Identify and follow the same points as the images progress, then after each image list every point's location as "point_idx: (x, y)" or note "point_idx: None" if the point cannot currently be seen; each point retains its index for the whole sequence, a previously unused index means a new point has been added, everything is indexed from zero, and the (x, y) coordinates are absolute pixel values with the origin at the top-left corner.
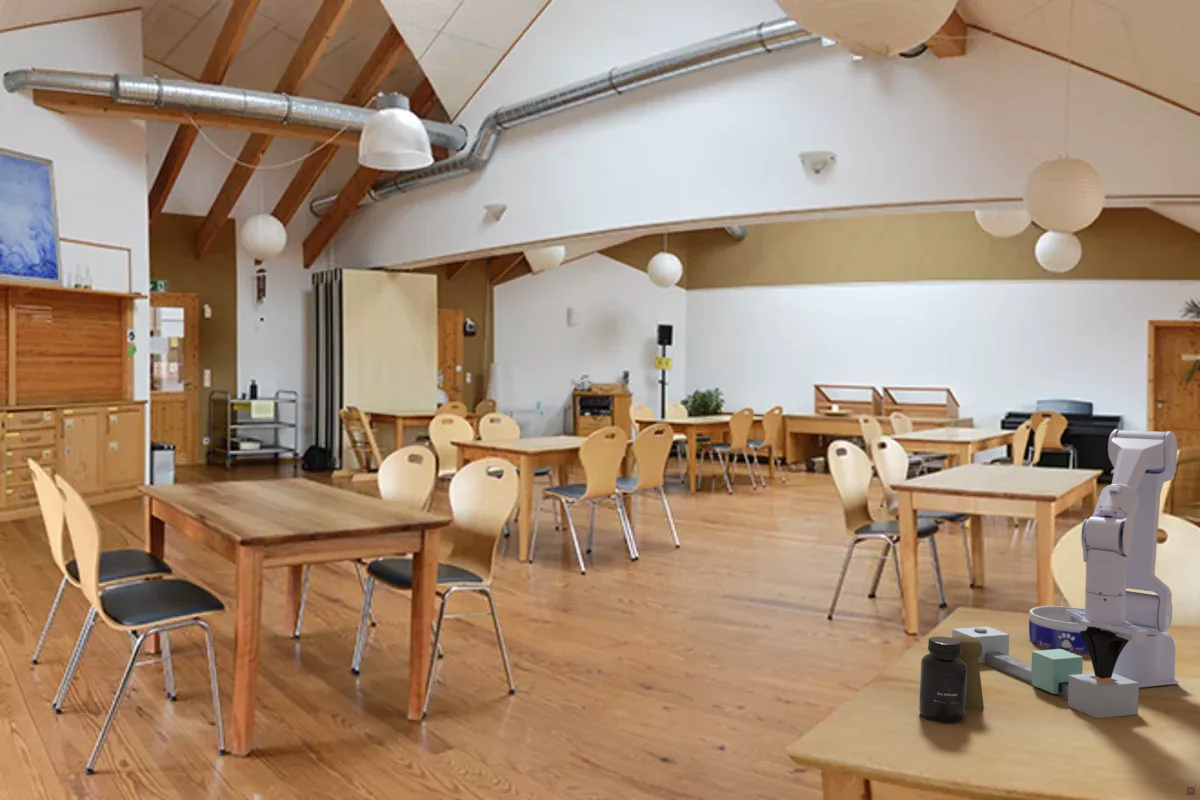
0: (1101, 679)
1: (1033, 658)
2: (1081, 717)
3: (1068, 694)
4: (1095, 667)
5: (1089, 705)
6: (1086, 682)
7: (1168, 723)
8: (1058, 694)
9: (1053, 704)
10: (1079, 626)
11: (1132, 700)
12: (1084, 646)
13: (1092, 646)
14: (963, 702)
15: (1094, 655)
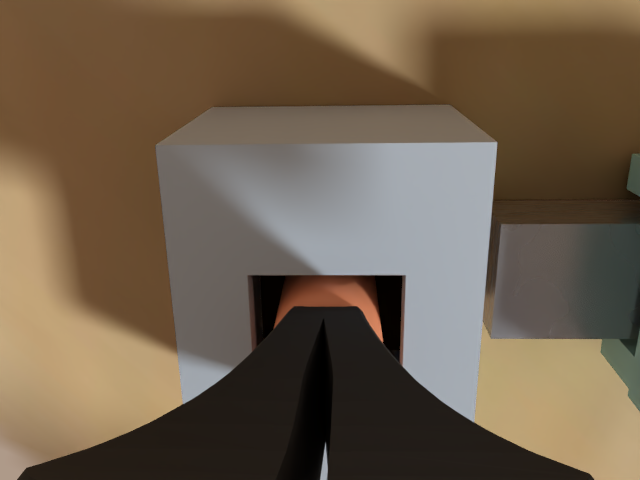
0: (293, 304)
1: None
2: (252, 26)
3: (460, 114)
4: (339, 329)
5: (264, 114)
6: (281, 142)
7: (90, 412)
8: (633, 201)
9: (506, 31)
10: None
11: None
12: None
13: (335, 425)
14: None
15: (333, 380)
